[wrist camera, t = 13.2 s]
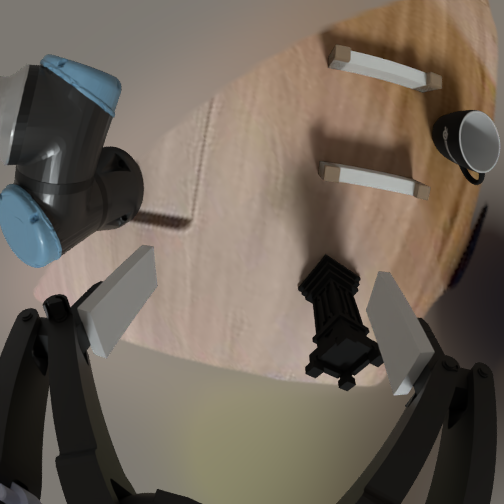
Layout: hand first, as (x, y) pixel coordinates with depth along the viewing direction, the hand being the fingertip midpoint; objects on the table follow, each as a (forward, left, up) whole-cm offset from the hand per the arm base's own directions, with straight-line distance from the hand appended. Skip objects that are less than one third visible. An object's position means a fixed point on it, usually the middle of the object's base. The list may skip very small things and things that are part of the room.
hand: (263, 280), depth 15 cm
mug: (+28, +12, -29) cm, 42 cm away
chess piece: (+11, -16, -29) cm, 35 cm away
